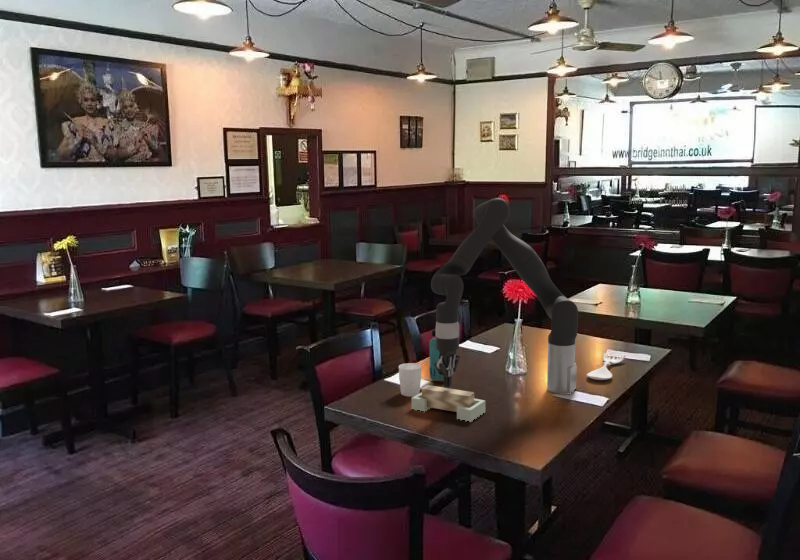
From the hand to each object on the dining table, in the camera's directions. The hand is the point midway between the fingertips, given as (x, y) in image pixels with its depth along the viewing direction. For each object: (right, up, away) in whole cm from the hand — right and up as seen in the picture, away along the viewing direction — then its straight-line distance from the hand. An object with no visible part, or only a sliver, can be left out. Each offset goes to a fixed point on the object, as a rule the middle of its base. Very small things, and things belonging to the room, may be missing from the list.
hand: (447, 386), depth 216 cm
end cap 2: (+7, -9, -3) cm, 12 cm away
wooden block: (0, -7, +1) cm, 7 cm away
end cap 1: (-7, -8, +6) cm, 12 cm away
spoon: (+64, -1, +40) cm, 75 cm away
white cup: (-12, -6, +19) cm, 23 cm away
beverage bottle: (-1, -3, +31) cm, 31 cm away
